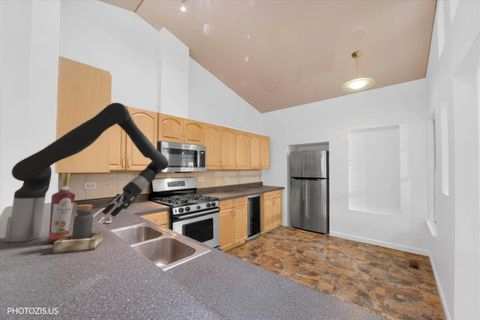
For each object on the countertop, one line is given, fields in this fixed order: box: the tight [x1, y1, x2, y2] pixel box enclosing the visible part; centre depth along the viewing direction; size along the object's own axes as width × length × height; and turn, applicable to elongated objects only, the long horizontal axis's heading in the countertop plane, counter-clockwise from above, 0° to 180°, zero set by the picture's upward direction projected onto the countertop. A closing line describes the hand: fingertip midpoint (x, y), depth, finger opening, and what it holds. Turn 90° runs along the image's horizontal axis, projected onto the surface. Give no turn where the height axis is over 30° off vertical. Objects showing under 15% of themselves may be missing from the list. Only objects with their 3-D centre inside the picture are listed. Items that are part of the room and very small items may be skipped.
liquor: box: [46, 172, 76, 245], centre depth 81 cm, size 7×7×28 cm
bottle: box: [71, 203, 94, 240], centre depth 76 cm, size 6×6×15 cm
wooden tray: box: [52, 230, 105, 255], centre depth 75 cm, size 12×12×4 cm
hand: (107, 214), depth 83 cm, fingers open, 8 cm apart
